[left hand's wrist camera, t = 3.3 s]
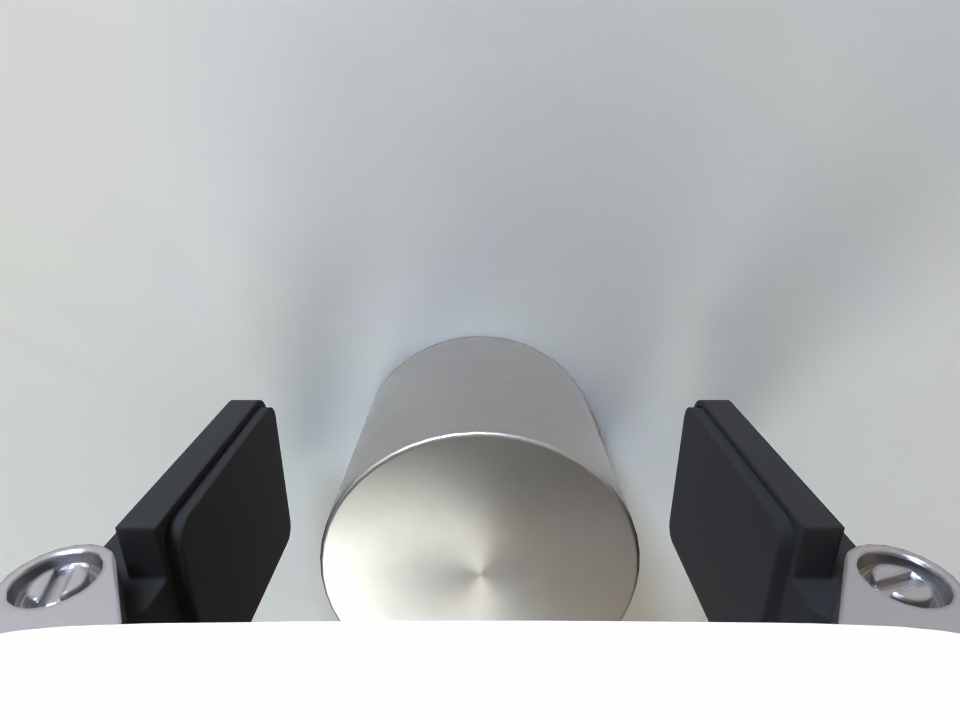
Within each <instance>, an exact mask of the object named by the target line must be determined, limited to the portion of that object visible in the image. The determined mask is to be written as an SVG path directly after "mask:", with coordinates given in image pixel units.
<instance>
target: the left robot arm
mask: <svg viewBox="0 0 960 720" xmlns="http://www.w3.org/2000/svg"><path fill="white" fill-rule="evenodd" d="M290 527H291V524H290V515H289V508H288V501H287V494H286V487H285V480H284V473H283V466H282V459H281V451H280V444H279V437H278V430H277V423H276V416H275V412H274V410H273V408H267V407H266V406H265V404H264V402H263V401H262V400H231V401H230V402H229V403H228V404H227V405H226V406H225V407H224V408H223V409H222V410H221V411H220V413H219V414H218V415H217V416H216V417H215V418H214V419H213V420H212V421H211V423H210V424H209V425H208V426H207V427H206V428H205V429H204V430H203V431H202V433H201V434H200V435H199V436H198V437H197V438H196V439H195V440H194V441H193V442H192V444H191V445H190V446H189V447H188V448H187V449H186V450H185V451H184V452H183V454H182V455H181V456H180V457H179V458H178V459H177V460H176V461H175V462H174V463H173V465H172V466H171V467H170V468H169V469H168V470H167V471H166V472H165V473H164V475H163V476H162V477H161V478H160V479H159V480H158V481H157V482H156V483H155V484H154V486H153V487H152V488H151V489H150V490H149V491H148V492H147V493H146V494H145V496H144V497H143V498H142V499H141V500H140V501H139V502H138V503H137V504H136V506H135V507H134V508H133V509H132V510H131V511H130V512H129V513H128V514H127V515H126V517H125V518H124V519H123V520H122V521H121V522H120V523H119V524H118V525H117V527H116V528H115V529H116V532H117V533H116V534H115V535H114V536H113V537H112V538H111V539H110V540H109V541H108V543H107V544H106V545H105V546H104V547H103V546H98V545H92V544H89V545H74V546H70V547H65V548H61V549H57V550H54V551H51V552H49V553H46V554H43V555H40V556H38V557H36V558H34V559H33V560H31V561H29V562H27V563H25V564H23V565H21V566H20V567H19V568H17V569H16V570H15V571H13V572H12V573H10V574H9V575H8V576H7V577H6V578H5V579H4V580H3V581H2V582H1V583H0V720H960V583H959V582H958V581H957V580H956V579H955V578H954V577H953V576H952V575H951V574H950V573H948V572H947V571H945V570H944V569H943V568H941V567H940V566H939V565H937V564H935V563H933V562H931V561H929V560H927V559H926V558H924V557H922V556H920V555H917V554H914V553H911V552H909V551H906V550H903V549H899V548H895V547H890V546H886V545H871V544H868V545H862V546H857V547H856V546H855V545H854V544H853V543H852V541H851V540H850V539H849V538H848V537H847V536H846V535H845V534H844V529H845V528H844V527H843V525H842V524H841V523H840V522H839V521H838V520H837V519H836V518H835V517H834V515H833V514H832V513H831V512H830V511H829V510H828V509H827V508H826V507H825V505H824V504H823V503H822V502H821V501H820V500H819V499H818V498H817V497H816V496H815V494H814V493H813V492H812V491H811V490H810V489H809V488H808V487H807V486H806V484H805V483H804V482H803V481H802V480H801V479H800V478H799V477H798V476H797V475H796V473H795V472H794V471H793V470H792V469H791V468H790V467H789V466H788V465H787V463H786V462H785V461H784V460H783V459H782V458H781V457H780V456H779V455H778V454H777V452H776V451H775V450H774V449H773V448H772V447H771V446H770V445H769V444H768V442H767V441H766V440H765V439H764V438H763V437H762V436H761V435H760V434H759V432H758V431H757V430H756V429H755V428H754V427H753V426H752V425H751V424H750V423H749V421H748V420H747V419H746V418H745V417H744V416H743V415H742V414H741V413H740V411H739V410H738V409H737V408H736V407H735V406H734V405H733V404H732V403H731V402H730V401H729V400H698V401H697V402H696V404H695V406H694V407H693V408H691V407H690V408H687V410H686V412H685V416H684V423H683V430H682V437H681V444H680V452H679V459H678V466H677V473H676V480H675V487H674V494H673V501H672V508H671V515H670V524H669V527H670V536H671V540H672V542H673V545H674V547H675V549H676V551H677V553H678V555H679V558H680V560H681V562H682V564H683V566H684V569H685V571H686V573H687V575H688V577H689V579H690V582H691V584H692V586H693V588H694V590H695V592H696V595H697V597H698V599H699V601H700V603H701V605H702V608H703V610H704V612H705V614H706V616H707V618H708V621H709V622H625V621H321V622H251V621H252V618H253V616H254V614H255V612H256V610H257V608H258V605H259V603H260V601H261V599H262V597H263V595H264V592H265V590H266V588H267V586H268V584H269V582H270V579H271V577H272V575H273V573H274V571H275V569H276V566H277V564H278V562H279V560H280V558H281V556H282V553H283V551H284V549H285V547H286V545H287V542H288V540H289V536H290Z"/></svg>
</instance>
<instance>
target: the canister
mask: <svg viewBox="0 0 960 720" xmlns="http://www.w3.org/2000/svg"><path fill="white" fill-rule="evenodd" d="M320 562H321V575H322V579H323V583H324V588H325V592H326V595H327V597H328V600H329V602H330V605H331V607H332V609H333V611H334V613H335V614H336V616H337V618H338V620H339V621H621V620H622V618H623V616H624V614H625V612H626V611H627V609H628V607H629V605H630V603H631V600H632V597H633V594H634V591H635V588H636V584H637V578H638V573H639V546H638V539H637V534H636V531H635V528H634V524H633V521H632V518H631V516H630V513H629V510H628V508H627V505H626V503H625V500H624V498H623V495H622V492H621V490H620V487H619V485H618V482H617V479H616V477H615V474H614V472H613V469H612V466H611V464H610V461H609V459H608V456H607V453H606V451H605V448H604V446H603V443H602V440H601V438H600V435H599V433H598V430H597V428H596V425H595V422H594V420H593V417H592V415H591V412H590V409H589V407H588V404H587V402H586V400H585V398H584V396H583V394H582V392H581V390H580V388H579V387H578V386H577V384H576V383H575V381H574V380H573V378H572V377H571V376H570V375H569V374H568V373H567V372H566V371H565V370H564V369H563V368H562V367H561V366H560V365H558V364H557V363H556V362H555V361H554V360H552V359H551V358H549V357H548V356H546V355H544V354H543V353H541V352H540V351H538V350H536V349H533V348H531V347H529V346H527V345H524V344H521V343H518V342H515V341H511V340H507V339H501V338H495V337H466V338H458V339H454V340H449V341H445V342H442V343H439V344H436V345H433V346H431V347H429V348H427V349H425V350H423V351H420V352H418V353H417V354H415V355H414V356H412V357H411V358H409V359H408V360H406V361H405V362H404V363H403V364H401V365H400V366H399V367H398V368H397V369H396V370H395V371H394V372H393V373H392V374H391V375H390V376H389V378H388V379H387V380H386V381H385V382H384V384H383V385H382V387H381V389H380V390H379V392H378V393H377V395H376V398H375V400H374V402H373V404H372V407H371V409H370V412H369V414H368V417H367V420H366V422H365V425H364V427H363V430H362V432H361V435H360V438H359V440H358V443H357V445H356V448H355V451H354V453H353V456H352V458H351V461H350V464H349V466H348V469H347V471H346V474H345V477H344V479H343V482H342V484H341V487H340V490H339V492H338V495H337V497H336V500H335V502H334V505H333V508H332V510H331V513H330V515H329V518H328V521H327V523H326V527H325V531H324V534H323V538H322V544H321V555H320Z"/></svg>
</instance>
